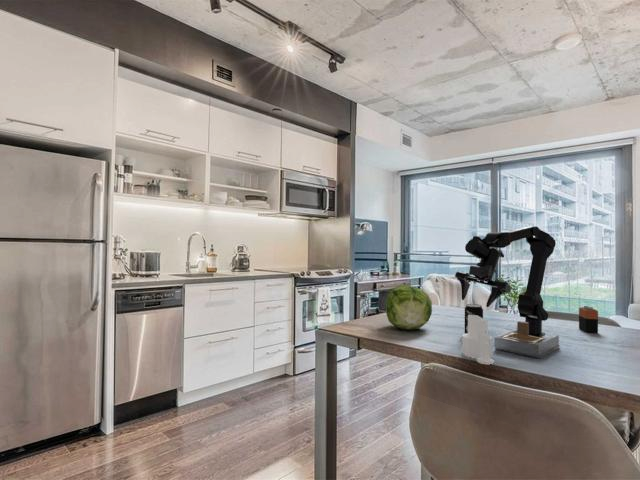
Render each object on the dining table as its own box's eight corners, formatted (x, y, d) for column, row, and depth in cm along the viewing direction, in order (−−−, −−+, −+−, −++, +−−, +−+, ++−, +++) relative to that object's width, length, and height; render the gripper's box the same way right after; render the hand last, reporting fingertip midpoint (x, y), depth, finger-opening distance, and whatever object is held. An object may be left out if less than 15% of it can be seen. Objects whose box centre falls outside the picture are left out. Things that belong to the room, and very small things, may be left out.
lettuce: (386, 336, 146) (394, 292, 144) (380, 316, 169) (387, 277, 167) (436, 344, 146) (444, 299, 143) (423, 322, 169) (430, 284, 166)
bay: (516, 339, 140) (516, 327, 140) (559, 347, 129) (559, 335, 129) (493, 349, 127) (493, 336, 127) (539, 359, 117) (539, 345, 117)
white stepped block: (458, 350, 126) (458, 315, 126) (485, 351, 126) (485, 315, 126) (468, 359, 117) (468, 320, 117) (497, 359, 117) (497, 321, 117)
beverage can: (484, 338, 141) (484, 306, 141) (466, 337, 142) (466, 306, 142) (480, 334, 147) (481, 304, 147) (463, 333, 149) (463, 303, 149)
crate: (512, 341, 132) (512, 318, 132) (543, 348, 125) (543, 322, 125) (502, 346, 127) (502, 321, 127) (534, 352, 120) (534, 326, 120)
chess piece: (473, 359, 117) (473, 327, 117) (489, 359, 117) (489, 327, 117) (481, 364, 112) (481, 331, 112) (497, 364, 112) (497, 331, 112)
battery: (586, 332, 150) (586, 307, 150) (578, 329, 157) (578, 305, 157) (598, 333, 149) (598, 308, 149) (590, 329, 156) (590, 305, 156)
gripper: (455, 251, 141) (441, 290, 138) (507, 261, 127) (492, 304, 124) (467, 261, 148) (454, 298, 145) (516, 272, 134) (503, 313, 132)
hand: (474, 303), depth 136 cm, fingers open, 9 cm apart
